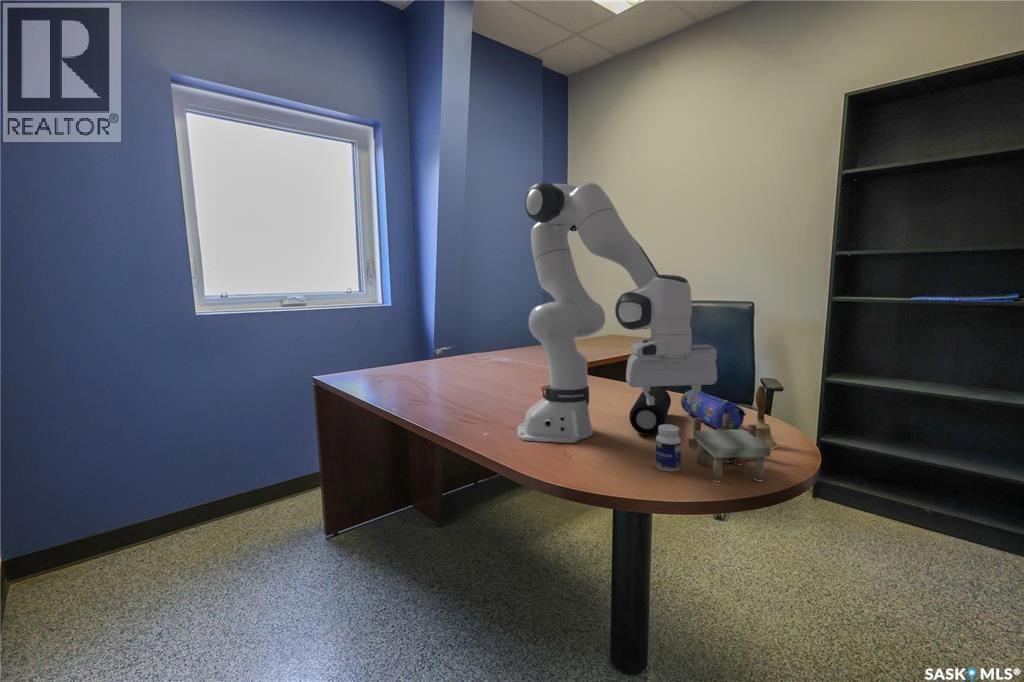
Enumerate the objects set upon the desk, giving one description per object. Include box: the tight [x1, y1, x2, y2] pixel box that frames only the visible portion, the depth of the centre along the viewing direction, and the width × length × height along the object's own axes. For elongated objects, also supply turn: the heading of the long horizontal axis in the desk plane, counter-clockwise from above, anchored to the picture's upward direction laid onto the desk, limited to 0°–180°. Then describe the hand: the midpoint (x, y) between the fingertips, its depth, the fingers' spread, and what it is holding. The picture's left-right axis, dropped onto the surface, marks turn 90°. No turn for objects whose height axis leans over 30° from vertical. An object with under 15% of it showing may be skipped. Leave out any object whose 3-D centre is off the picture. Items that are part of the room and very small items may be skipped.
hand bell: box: [751, 385, 778, 448], centre depth 119 cm, size 8×8×16 cm
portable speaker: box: [628, 386, 672, 436], centre depth 138 cm, size 26×10×10 cm, turn 156°
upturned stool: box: [687, 414, 756, 463], centre depth 115 cm, size 12×12×8 cm
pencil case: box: [680, 388, 747, 430], centre depth 138 cm, size 22×9×10 cm, turn 9°
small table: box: [692, 429, 771, 481], centre depth 104 cm, size 12×12×8 cm
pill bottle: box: [654, 423, 682, 472], centre depth 107 cm, size 6×6×10 cm
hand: (670, 404), depth 105 cm, fingers open, 8 cm apart
